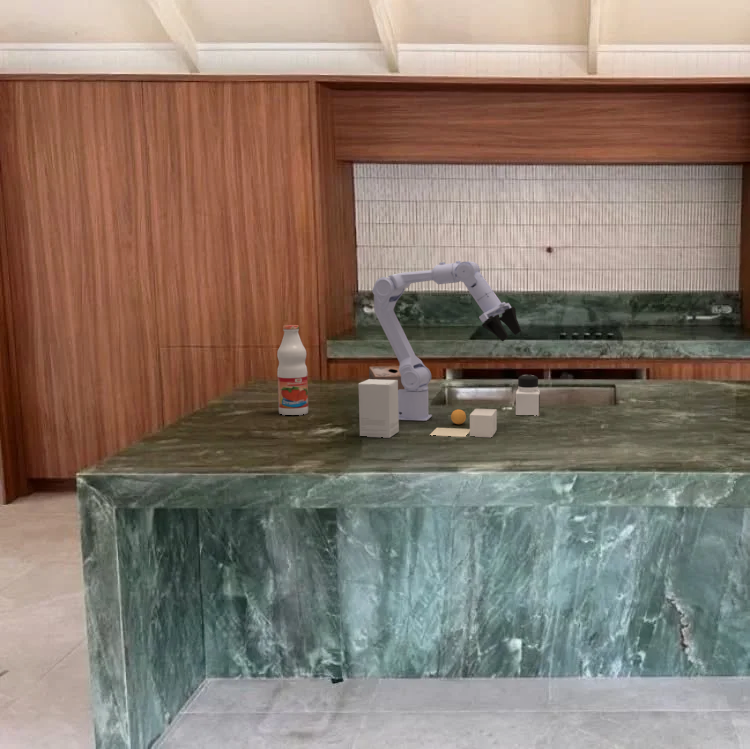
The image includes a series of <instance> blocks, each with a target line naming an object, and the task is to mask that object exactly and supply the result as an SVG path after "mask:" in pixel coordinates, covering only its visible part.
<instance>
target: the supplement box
mask: <svg viewBox="0 0 750 749" xmlns="http://www.w3.org/2000/svg"><path fill="white" fill-rule="evenodd" d="M357 385H358V410H359V411H358V414H359V415H358V416H359V421H358V422H359V437H360V436H367V437H366V438H381V437H383V438H384V439H390V438H391V437H393V436H394V435H396V434H397V433H399V432H400V426H399V421H400V420H399V417H398V380H377V379H369V378H368V379H366V380H364V381H361V382H359V383H357ZM383 438H382V439H383Z"/></svg>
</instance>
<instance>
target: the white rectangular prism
mask: <svg viewBox="0 0 750 749" xmlns="http://www.w3.org/2000/svg"><path fill="white" fill-rule="evenodd" d="M497 411H498V410H497V409H496V408H495V409H493V408H474V410H473V411H472V412H471V413H469V429H470V432H469V437H470V436H475V437H476V438H491V437H492V438H493V436H494V435H495V433H496V432H497V428H498V426H497V425H498V424H497V420H498V419H497V418H498V417H497V416H498V412H497ZM475 437H474V438H475Z"/></svg>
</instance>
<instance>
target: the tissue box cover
mask: <svg viewBox="0 0 750 749" xmlns="http://www.w3.org/2000/svg"><path fill="white" fill-rule="evenodd" d="M368 377H369V378H368V379H377V380H398V390H399V389H404V386H403V385H402V382H401V374H400V372H399V365H377V366H375V365H374V366H369V367H368Z"/></svg>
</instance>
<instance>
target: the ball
mask: <svg viewBox="0 0 750 749" xmlns="http://www.w3.org/2000/svg"><path fill="white" fill-rule="evenodd" d="M466 414H467V413H466V412H465V411H464V410H462V409H458V408H457V409H455V410H453V411H452V412H451V414H450V419H451V421H452V423H454V425H455V424H456V425H462V424H463V423H464V422H466V420H467V415H466Z"/></svg>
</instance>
